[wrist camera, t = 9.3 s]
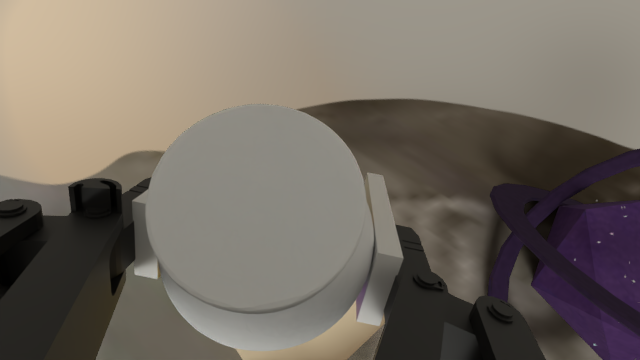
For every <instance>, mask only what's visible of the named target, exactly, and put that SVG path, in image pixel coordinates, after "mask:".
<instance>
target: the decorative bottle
mask: <svg viewBox="0 0 640 360" xmlns="http://www.w3.org/2000/svg"><path fill="white" fill-rule="evenodd" d="M638 166H640V149H637V150H632V151H628V152H626V153H623V154H621V155H618V156H616V157H614V158H611V159H609V160H606V161H604V162H602V163H599V164H597V165H594V166H592V167H589V168H587V169H585V170H584V171H582V172H580V173H579V174H577V175H576V176H574V177H572V178H571V179H569V180H568V181H566V182H565V183H563V184H561V185H560V186H558V187H557V188H555V189H553V190H552V191H546V190H542V189H538V188H534V187H530V186H527V185H517V184H501V185H498V186H494V187H493V189H492V191H491V194H490V197H491V200H492V202H493V205H494V208H495V210H496V211H497V213H498V214H499V215H500V217H501V218H502V219H503V220H504V222H505V223H506V224H507V226H508V227H509V228H510V229H511V231H512V233H511V234H510V235H509V237H508V238H507V240H506V241H505V242H504V244H503V245H502V247H501V249H500V252H499V254H498V257H497V259H496V262H495V265H494V267H493V270H492V272H491V275H490V277H489V287H488V296H492V297H495V298H498V299H501V300H503V301H505V302H506V303H507V301H508V288H509V277H510V275H511V272H512V269H513V267H514V264H515V262H516V259H517V256H518V254H519V251H520V249H521V248H522V247H523V245H525V246H527V247H528V248H529V249H530V250H531V251H532V252H533V253H534V254H535V255H536V256H537V257H538V258H539V259H540V261H539V264H538V266H537V269H536V272H535V275H534V277H533V280H532V283H531V286H532V287H533V288H534V289H535V290H536V291H537V292H538V293H539V294H540V295H541V296H542V297H543V298H544V299H545V300H546V301H547V302H548V303H549V304H550V305H551V306H552V307H553V308H554V310H555V311H556V312H557V313H558V314H559V315H560V316H561V317H562V318H563V319H564V320H565V321H566V322H567V323H568V324H569V325H570V326H571V327H572V328H573V329H574V330H575V331H576V332H577V333H578V334H579V336H580V337H581V338H582V339H583V340H584V341H585V342H586V343H587V344H588V345H589V346H590V347H591V348H592V349H593V350H594V351H595V352H596V353H597V354H598V355H599V356H600V357H601V358H602V359H603V360H640V200H633V201H620V202H607V203H594V204H583V203H580V202H578V201H575V200H573V199H570V197H572V196H574V195H575V194H577V193H578V192H580V191H582V190H583V189H585V188H587V187H588V186H590V185H591V184H593V183H595V182H597V181H600V180H602V179H605V178H607V177H610V176H612V175H615V174H617V173H620V172H622V171H625V170H627V169H630V168H633V167H638ZM530 201H539V202H538V203H537V204H536V205H535V206H534V207H533V208H532V209H531V210H530V211H529V212H528V213H527V214H525V213H524V206H525V204H526V203H528V202H530ZM597 201H598V200H596V202H597ZM559 205H560V206H559ZM558 206H559V208H558V211H557V214H556V217H555V219H554V222H553V225H552V228H551V230H550V233H549V236H548V239H547V241H546V240H545V239H544V238H543V237H542V236H541V235H540V233H539V232H538V231H537V230H536V229H535V228H536V227H537V225H538V224H539V223H541V222H542V221H543V220H544V219H545V218H546V217H547V216H548V215H549V214H550V213H552V212H553V211H554V210H555V209H556V208H557V207H558Z"/></svg>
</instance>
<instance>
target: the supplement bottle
mask: <svg viewBox="0 0 640 360" xmlns="http://www.w3.org/2000/svg"><path fill="white" fill-rule="evenodd" d="M145 218H146V226H147V233H148V238H149V241H150V244H151V247H152V249H153V251H154V254H155V256H156V258H157V260H158V264H159V270H160V274H161V278H162V281H163V284H164V286H165V289H166V291H167V294H168V296H169V298H170V299H171V301H172V302H173V304H174V306H175V307H176V309H177V310H178V311H179V313H180V314H181V315H182V316H183V317H184V318H185V319H186V321H187V322H188V323H190V324H191V325H192V326H193V327H194V328H195V329H196V330H197V331H199V332H200V333H202V334H203V335H205V336H207V337H208V338H210V339H212V340H214V341H216V342H218V343H221V344H223V345H226V346H229V347H232V348H236V349H242V350H249V351H275V350H281V349H287V348H291V347H294V346H297V345H300V344H303V343H305V342H308V341H310V340H312V339H314V338H315V337H317V336H319V335H321V334H322V333H324V332H325V331H327V330H328V329H329V328H331V327H332V326H333V325H334V324H336V323H337V322H338V321H339V320H340V319H341V318H342V317H343V316H344V315H345V314H346V312H347V311H348V310H349V309H350V307H351V306H352V305H353V303H354V302H355V300H356V299H357V297H358V296H359V294H360V292H361V290H362V288H363V286H364V284H365V282H366V279H367V276H368V273H369V270H370V267H371V262H372V257H373V250H374V229H373V222H372V216H371V213H370V209H369V206H368V203H367V201H366V191H365V186H364V180H363V177H362V174H361V171H360V169H359V166H358V163H357V161H356V159H355V157H354V156H353V154H352V152H351V151H350V149H349V148H348V146H347V145H346V144H345V143H344V141H343V140H342V139H341V138H340V137H339V136H338V135H337V134H336V133H335V132H334V131H333V130H332V129H330V128H329V127H328V126H326V125H325V124H324V123H322V122H321V121H319V120H318V119H316V118H314V117H312V116H310V115H308V114H306V113H304V112H301V111H298V110H295V109H292V108H288V107H284V106H279V105H269V104H251V105H243V106H237V107H233V108H229V109H225V110H222V111H220V112H217V113H214V114H212V115H210V116H208V117H206V118H204V119H202V120H200V121H199V122H197V123H195V124H194V125H193V126H191V127H190V128H188V129H187V130H186V131H184V133H182V134H181V135H180V136H179V137H178V138H177V139H176V140H175V141H174V142H173V143H172V144H171V146H170V147H169V148H168V149H167V150H166V152H165V153H164V155H163V156H162V158H161V160H160V161H159V163H158V165H157V167H156V169H155V170H154V173H153V175H152V178H151V180H150V184H149V189H148V193H147V197H146V206H145Z"/></svg>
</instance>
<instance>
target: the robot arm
mask: <svg viewBox="0 0 640 360" xmlns="http://www.w3.org/2000/svg"><path fill="white" fill-rule="evenodd" d="M151 178H152V177H151ZM151 178H148V179H145V180H143V181H142V182H140V183H139V184H137V186H134V187H133V188H131V189H130V190H129V191H127V192H125V193H124V194H122V188H121V185H120V184H119V183H118V182H116V181H114V180H110V179H103V178H94V179H86V180H81V181H78V182H75V183H73V184H71V185H70V186H68V188H69V196H70V204H71V213H70V214H69V215H68V216H43V214H42V208H41V205H40V204H39V203H38V202H35V201H32V200H23V199H14V200H13V199H10V200H5V201H2V202H0V360H95V359H96V356H97V354H98V351H99V349H100V346H101V343H102V341H103V338H104V336H105V333H106V330H107V328H108V325H109V323H110V320H111V317H112V315H113V312H114V310H115V307H116V304H117V302H118V299H119V297H120V294H121V292H122V289H123V286H124V284H125V281H126V268H127V267H128V266H129V265H130V264H131V263H132V262H133V261H134V267H135V275H140V276H144V277H149V278H154V279H158V278H159V277H160V276H161V274H160V270H159V264H158V260H157V258H156V256H155V254H154V251H153V249H152V247H151V244H150V241H149V238H148V233H147V226H146V218H145V206H146V197H147V193H148V189H149V184H150V180H151ZM364 186H365V191H366V201H367V203H368V206H369V209H370V213H371V216H372V222H373V229H374V250H373V257H372V262H371V267H370V270H369V273H368V276H367V279H366V282H365V284H364V286H363V288H362V290H361V292H360V294H359V296H358V297H357V299H356V320H357V322H362V323H366V324H371V325H376V326H380V323H381V320H382V318H383V315H384V318H385V326H384V329H383V332H382V335H381V338H380V340H379V343H378V346H377V349H376V351H375V355H374V358H373V360H546V359H545V357H544V355H543V353H542V351H541V350H540V348H539V346H538V344H537V342H536V340H535V338H534V336H533V334H532V332H531V330H530V329H529V327H528V325H527V323H526V321H525V319H524V318H523V316H522V315H521V314H520V312H518V311H517V310H516V309H515V308H514V307H513V306H512V305H510V304H509V303H506V302H505V301H503V300H501V299H498V298H495V297H492V296H481V297H479V298H478V299H477V300H476V302H475V304H474V305H473V304H471V303H468V302H466V301H464V300H461V299H459V298H457V297H455V296H453V295H451V294H449V293H448V289H447V285H446V283H445V282H444V281H443V279H441V278H440V277H439V276H438V275H437V274H435V273H433V272H431V269H430V266H429V264H428V261H427V258H426V255H425V252H424V250H423V247H422V246H421V241H420V238H419V236H418V235H417V234H416V233H415V232H414V231H413V229H412V228H409V227H404V226H400V225H395V222H394V218H393V214H392V210H391V206H390V202H389V198H388V194H387V190H386V186H385V182H384V178H383V175H378V174H373V173H368V172H367V175H366V179H365V183H364Z"/></svg>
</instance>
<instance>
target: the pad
mask: <svg viewBox="0 0 640 360" xmlns="http://www.w3.org/2000/svg"><path fill="white" fill-rule="evenodd" d="M384 323H385V318H384V315H383V318H382V320H381V323H380V326H376V325H371V324H366V323H362V322H357V320H356V300H355V302H354V303H353V305H352V306H351V307H350V309H349V310H348V311H347V312H346V314H345V315H344V316H343V317H342V318H341V319H340V320H339V321H338V322H337V323H336V324H334V325H333V326H332V327H331V328H329V329H328V330H327V331H325V332H324V333H322V334H321V335H319V336H317V337H315V338H314V339H312V340H310V341H308V342H305V343H303V344H300V345H297V346H294V347H291V348H287V349H281V350H275V351H249V350H242V349H236V348H235V349H236V350H237V352H238V353H239V355H240V356H241V358H242V359H243V360H347V359H348V358H349V357H350V356H351V355H352V354H353V353H354V352H355V351H356V350H357V349H358V348H359V347H360V346H361V345H362V344H363V343H365V342H366V341H367V340H368V339H369V338H370V337H371V336H372V335H373V334H374V333H375V332H376V331H377V330H378V329H379V328H380V327H381V326H382V325H383V324H384Z"/></svg>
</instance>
